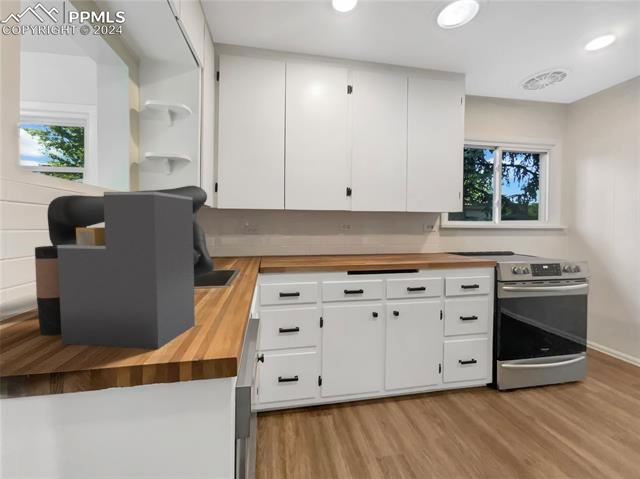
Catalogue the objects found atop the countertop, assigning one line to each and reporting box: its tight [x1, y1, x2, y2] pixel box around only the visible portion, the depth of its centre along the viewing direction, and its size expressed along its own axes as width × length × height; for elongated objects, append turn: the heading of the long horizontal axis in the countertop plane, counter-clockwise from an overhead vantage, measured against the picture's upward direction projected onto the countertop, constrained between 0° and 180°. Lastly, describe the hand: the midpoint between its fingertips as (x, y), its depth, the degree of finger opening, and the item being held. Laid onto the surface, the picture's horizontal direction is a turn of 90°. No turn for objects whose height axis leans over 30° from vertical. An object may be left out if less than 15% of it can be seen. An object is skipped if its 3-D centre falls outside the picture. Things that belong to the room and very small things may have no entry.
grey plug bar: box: [76, 226, 105, 245], centre depth 72 cm, size 4×22×4 cm, turn 173°
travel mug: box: [34, 245, 61, 336], centre depth 70 cm, size 8×8×20 cm
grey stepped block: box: [57, 191, 196, 350], centre depth 67 cm, size 22×14×32 cm, turn 84°
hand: (140, 220), depth 77 cm, fingers open, 4 cm apart
